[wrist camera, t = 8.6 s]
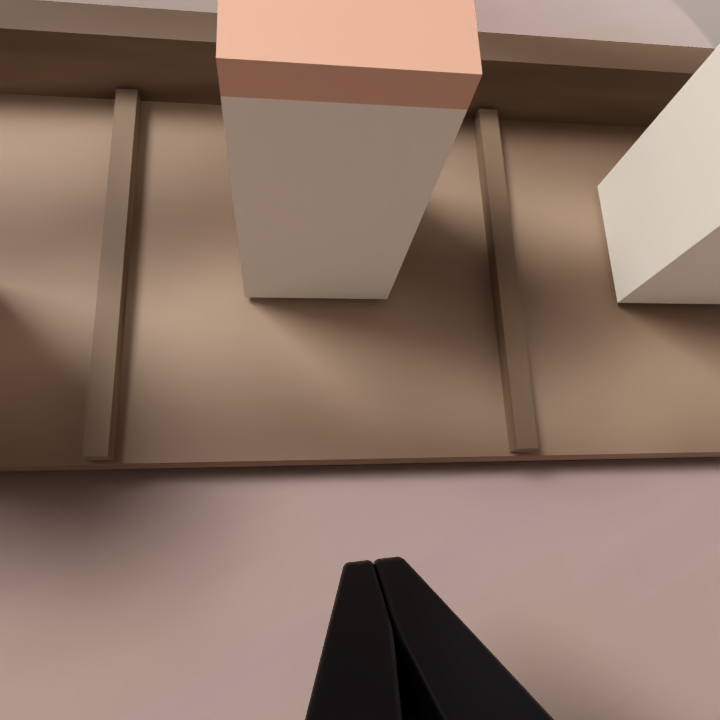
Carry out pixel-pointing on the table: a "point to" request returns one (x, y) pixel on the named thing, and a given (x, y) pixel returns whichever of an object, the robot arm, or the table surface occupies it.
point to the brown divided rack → (325, 315)
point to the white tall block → (669, 201)
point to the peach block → (338, 134)
